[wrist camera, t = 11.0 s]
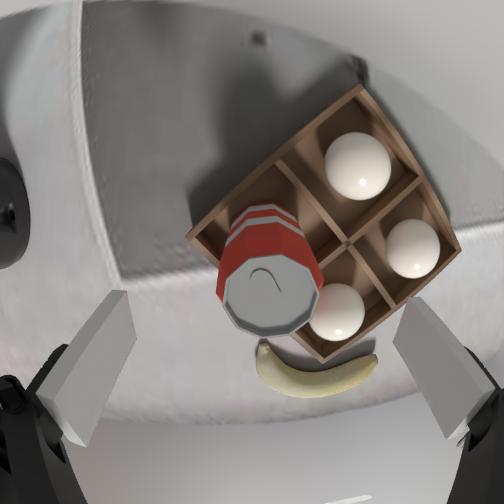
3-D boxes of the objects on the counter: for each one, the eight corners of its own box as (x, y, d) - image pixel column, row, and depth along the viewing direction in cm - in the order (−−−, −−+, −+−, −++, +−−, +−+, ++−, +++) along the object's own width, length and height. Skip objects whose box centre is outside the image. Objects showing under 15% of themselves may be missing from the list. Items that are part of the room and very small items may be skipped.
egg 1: (304, 159, 23) (318, 162, 18) (349, 121, 22) (374, 115, 17) (343, 206, 25) (364, 221, 20) (385, 169, 23) (415, 176, 18)
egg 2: (292, 296, 28) (299, 329, 23) (335, 262, 27) (352, 289, 22) (323, 328, 30) (334, 361, 24) (364, 297, 28) (382, 327, 23)
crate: (192, 227, 26) (185, 236, 23) (349, 89, 21) (360, 83, 18) (318, 347, 31) (322, 364, 28) (447, 241, 26) (461, 250, 23)
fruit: (355, 385, 34) (361, 401, 31) (250, 380, 34) (249, 399, 31) (375, 347, 32) (383, 363, 29) (259, 339, 31) (259, 358, 28)
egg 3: (366, 236, 26) (390, 258, 21) (406, 201, 24) (436, 215, 19) (392, 274, 27) (416, 300, 22) (428, 241, 26) (457, 261, 21)
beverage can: (280, 188, 24) (300, 222, 13) (308, 249, 26) (342, 322, 15) (219, 217, 25) (190, 273, 14) (251, 274, 27) (246, 359, 16)
